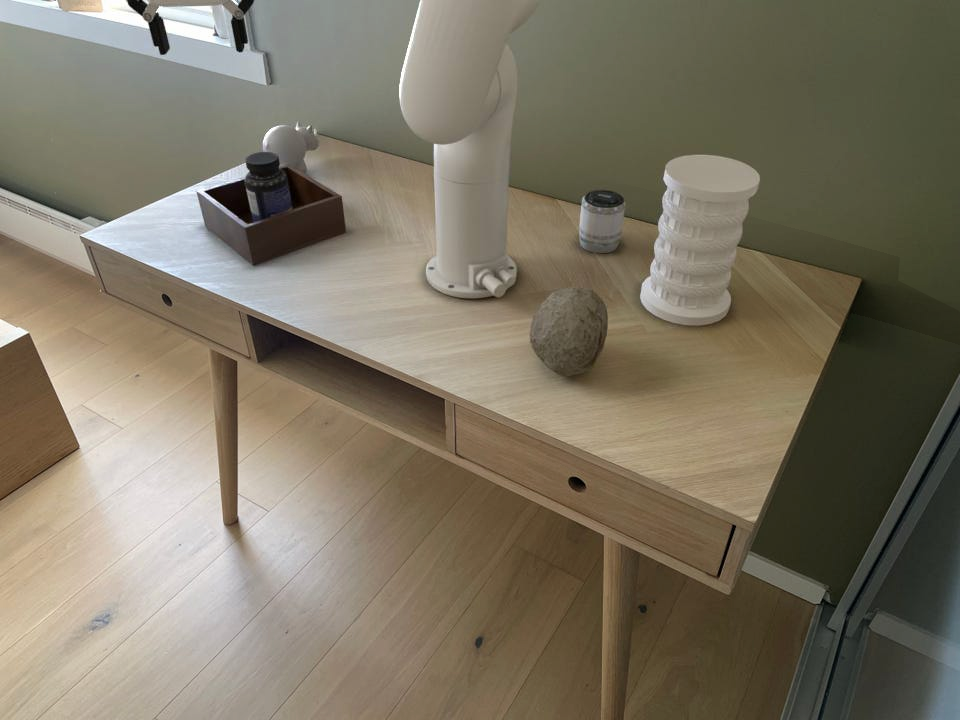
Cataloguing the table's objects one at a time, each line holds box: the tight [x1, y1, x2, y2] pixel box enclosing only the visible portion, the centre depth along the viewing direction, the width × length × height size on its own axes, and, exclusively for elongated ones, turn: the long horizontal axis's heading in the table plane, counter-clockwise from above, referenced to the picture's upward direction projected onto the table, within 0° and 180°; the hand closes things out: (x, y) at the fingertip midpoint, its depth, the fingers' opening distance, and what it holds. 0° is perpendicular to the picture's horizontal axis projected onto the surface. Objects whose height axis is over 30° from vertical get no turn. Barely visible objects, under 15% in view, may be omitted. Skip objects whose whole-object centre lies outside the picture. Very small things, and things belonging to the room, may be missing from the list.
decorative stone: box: [529, 285, 609, 377], centre depth 81 cm, size 10×8×10 cm
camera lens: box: [578, 189, 627, 254], centre depth 105 cm, size 6×6×8 cm
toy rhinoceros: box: [262, 121, 320, 174], centre depth 126 cm, size 7×12×8 cm, turn 148°
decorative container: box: [639, 154, 761, 327], centre depth 90 cm, size 12×12×18 cm
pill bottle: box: [244, 151, 293, 223], centre depth 107 cm, size 6×6×11 cm
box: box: [195, 164, 347, 266], centre depth 108 cm, size 16×16×6 cm
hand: (203, 50), depth 95 cm, fingers open, 9 cm apart
